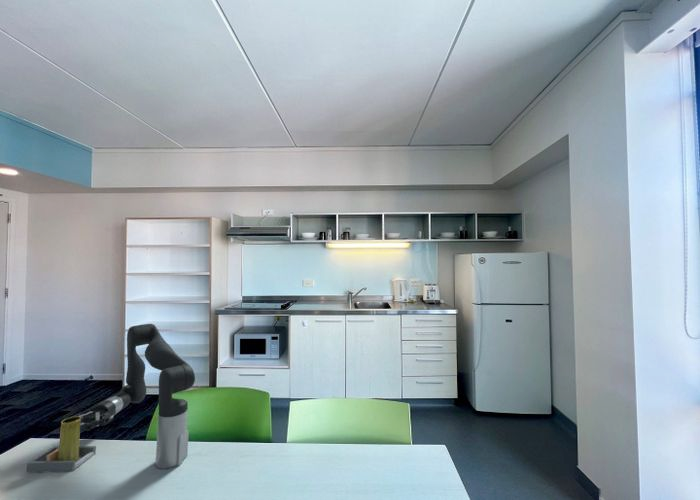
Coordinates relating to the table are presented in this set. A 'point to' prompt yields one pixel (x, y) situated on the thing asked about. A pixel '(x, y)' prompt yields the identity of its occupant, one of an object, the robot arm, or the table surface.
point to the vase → (69, 439)
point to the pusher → (52, 456)
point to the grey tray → (60, 466)
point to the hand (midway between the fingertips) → (74, 428)
